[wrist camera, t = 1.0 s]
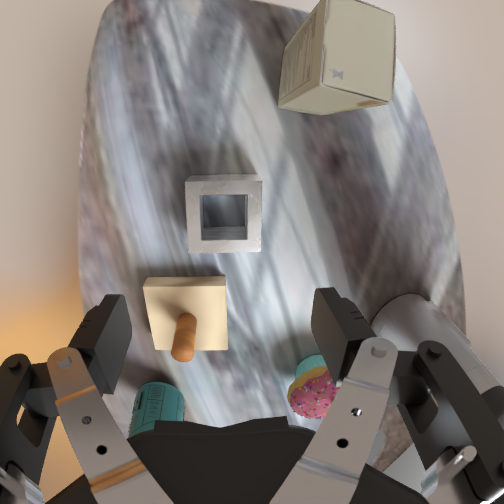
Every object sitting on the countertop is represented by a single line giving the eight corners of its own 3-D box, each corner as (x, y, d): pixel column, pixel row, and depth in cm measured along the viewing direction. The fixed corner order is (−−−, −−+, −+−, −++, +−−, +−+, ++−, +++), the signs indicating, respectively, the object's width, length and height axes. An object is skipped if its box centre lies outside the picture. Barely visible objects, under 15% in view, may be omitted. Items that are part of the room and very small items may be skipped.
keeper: (225, 275, 30) (226, 316, 23) (227, 338, 33) (229, 383, 26) (147, 277, 29) (129, 316, 22) (158, 338, 32) (147, 382, 26)
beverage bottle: (143, 366, 34) (113, 510, 15) (193, 380, 35) (186, 526, 17) (136, 394, 36) (112, 521, 17) (181, 407, 37) (173, 534, 19)
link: (257, 174, 26) (262, 180, 23) (256, 237, 28) (260, 251, 25) (189, 175, 25) (184, 181, 22) (192, 238, 28) (188, 253, 25)
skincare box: (323, 116, 24) (393, 111, 13) (276, 108, 24) (317, 91, 13) (330, 53, 22) (399, 13, 11) (283, 43, 21) (327, -13, 10)
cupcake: (309, 334, 34) (340, 414, 23) (357, 354, 36) (393, 423, 25) (269, 379, 36) (284, 457, 25) (318, 394, 38) (340, 462, 27)
